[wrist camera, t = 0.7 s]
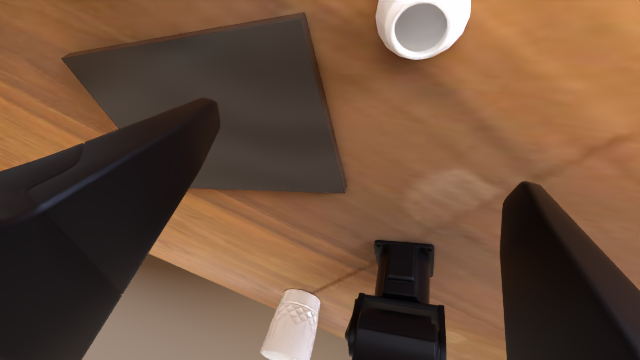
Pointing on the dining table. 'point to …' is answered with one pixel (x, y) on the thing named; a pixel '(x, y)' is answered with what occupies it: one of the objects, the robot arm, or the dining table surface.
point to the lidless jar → (421, 25)
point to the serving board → (230, 100)
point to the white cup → (292, 327)
